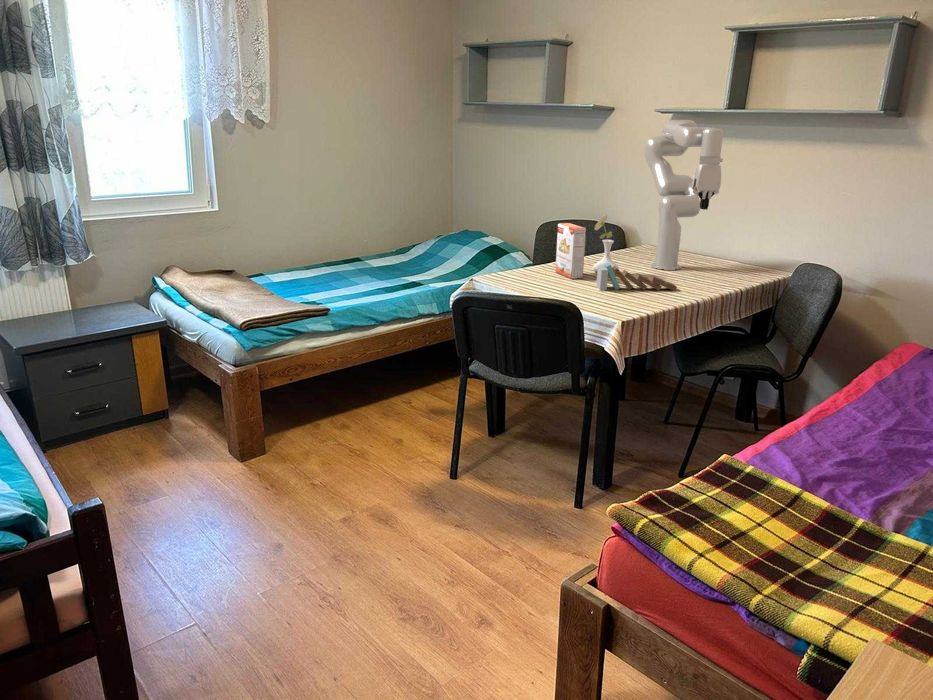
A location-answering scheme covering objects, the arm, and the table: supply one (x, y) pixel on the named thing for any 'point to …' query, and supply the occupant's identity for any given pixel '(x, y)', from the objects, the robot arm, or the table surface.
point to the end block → (602, 277)
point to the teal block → (612, 276)
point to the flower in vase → (606, 244)
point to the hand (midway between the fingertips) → (703, 209)
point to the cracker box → (570, 250)
